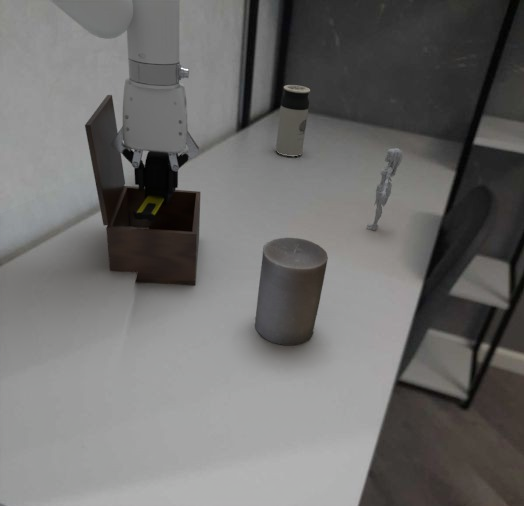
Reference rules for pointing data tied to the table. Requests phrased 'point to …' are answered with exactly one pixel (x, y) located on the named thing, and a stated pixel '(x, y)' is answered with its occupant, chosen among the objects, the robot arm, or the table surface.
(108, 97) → the lid
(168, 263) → the desk box
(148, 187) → the tape measure
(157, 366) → the table surface
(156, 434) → the table surface
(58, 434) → the table surface
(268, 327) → the pillar candle
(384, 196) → the human figurine
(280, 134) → the travel mug
